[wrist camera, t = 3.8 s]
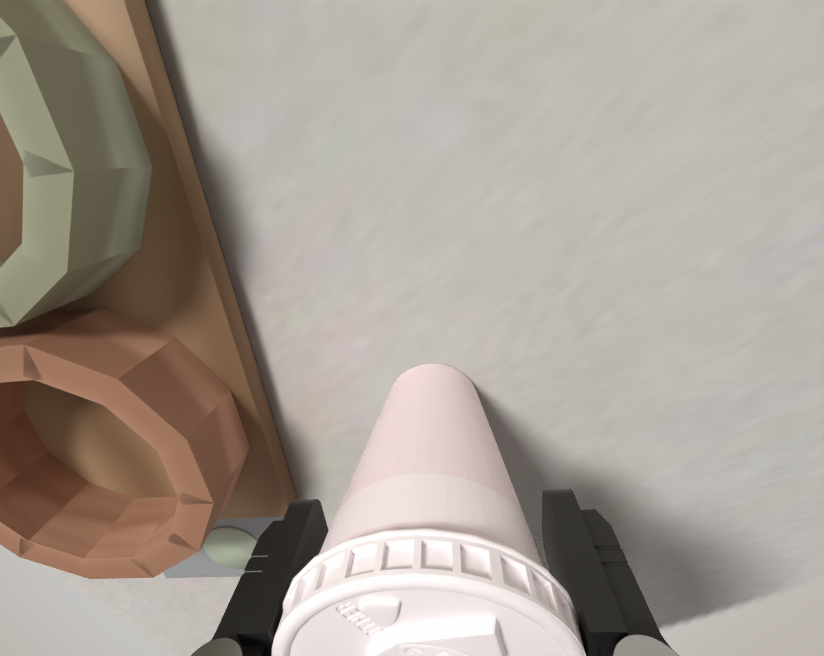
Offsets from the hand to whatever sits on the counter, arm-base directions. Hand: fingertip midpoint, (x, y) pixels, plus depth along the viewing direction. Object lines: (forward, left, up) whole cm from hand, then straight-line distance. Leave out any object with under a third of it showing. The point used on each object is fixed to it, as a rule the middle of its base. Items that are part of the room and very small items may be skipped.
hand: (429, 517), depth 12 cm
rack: (+13, -6, -6) cm, 15 cm away
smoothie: (0, 0, -6) cm, 6 cm away
